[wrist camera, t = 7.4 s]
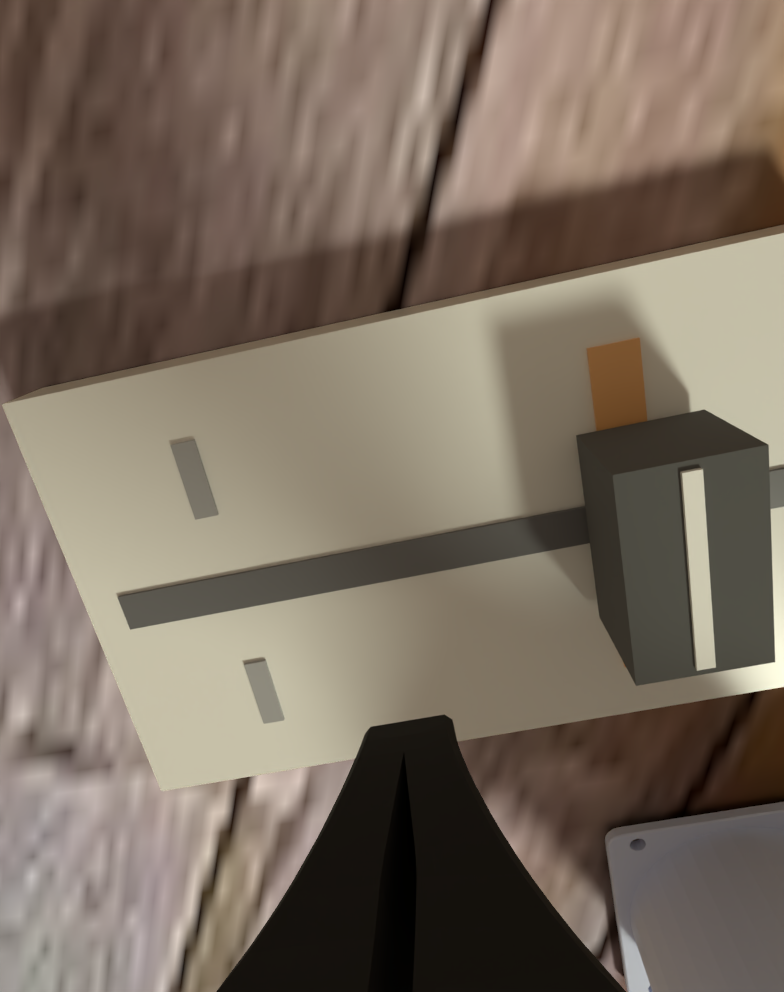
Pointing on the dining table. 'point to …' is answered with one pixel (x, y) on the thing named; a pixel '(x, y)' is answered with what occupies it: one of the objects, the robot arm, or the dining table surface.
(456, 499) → the fader console
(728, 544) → the fader knob
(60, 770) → the dining table surface
